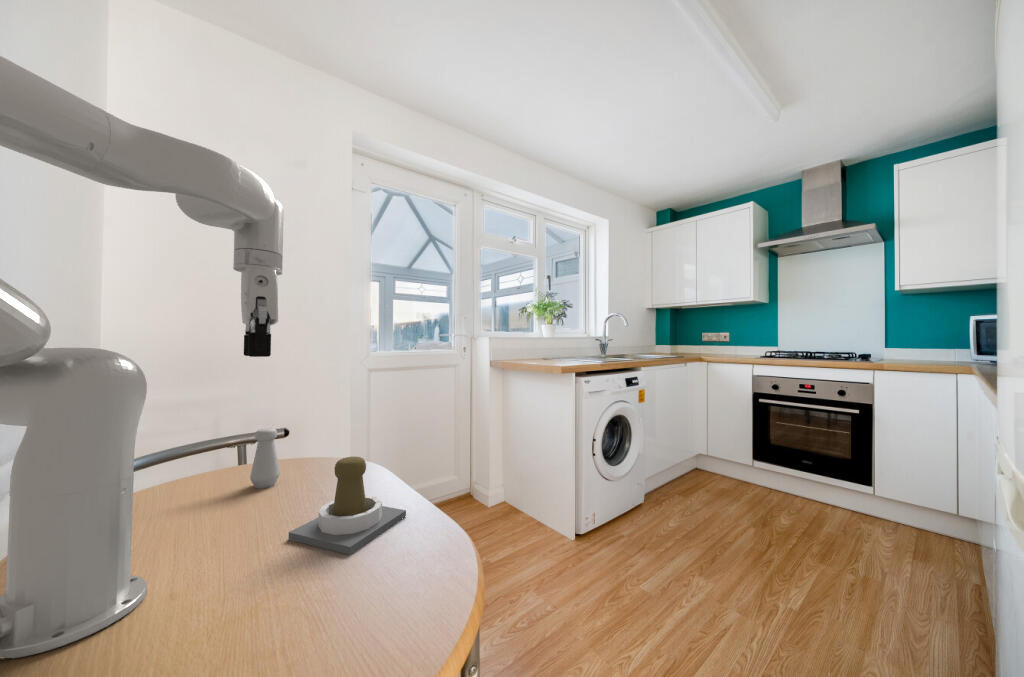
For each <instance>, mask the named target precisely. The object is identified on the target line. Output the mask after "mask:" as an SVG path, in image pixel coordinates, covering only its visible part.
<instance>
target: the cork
mask: <svg viewBox="0 0 1024 677" xmlns="http://www.w3.org/2000/svg"><path fill="white" fill-rule="evenodd" d="M366 471H367V463H366V460H365V459H364V458H363V457H361V456H347V457H343V458H340V459H339V460H338V461H336V463H335V465H334V476H335V477H336V479H337V481H336V489H335V495H334V500H333V501H334V506H333V513H332V516H337V517H342V516H353V515H357V514H361V513H364V512H366V511H367V508H366V500H365V495H366V493H365V486H364V477H363V476H364V474H365V473H366Z"/></svg>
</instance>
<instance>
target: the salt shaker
mask: <svg viewBox="0 0 1024 677" xmlns="http://www.w3.org/2000/svg"><path fill="white" fill-rule="evenodd" d="M277 436H278V430H277V429H276V428H274V427H273V428H272V427H266V428H265V427H264V428H259V429H258V430H256V431H255V434H254V438H255V441H257V444H256V449H255V452H254V453H255V454H254V459H253V464H252V467H251V471H250V477H249V479H250V480H249V481H250V482H251V483H252V484H253V487H254V488H255V489H267V488H271V487H274V485H275V484H276V483H277V480H278V479H279V477H280V474H281V471H280V470H281V469H280V464H279V459H278V454H277V449H276V444H275V439H276V438H277Z"/></svg>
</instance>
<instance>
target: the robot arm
mask: <svg viewBox="0 0 1024 677" xmlns="http://www.w3.org/2000/svg"><path fill="white" fill-rule="evenodd" d="M0 146H1V147H3V148H6V149H8V150H10V151H11V150H12V151H14V152H17V153H19V154H22V155H25V156H28V157H30V158H33V159H35V160H39V161H41V162H44V163H46V164H50V165H52V166H54V167H57V168H59V169H63V170H64V171H68V172H70V173H73V174H75V175H77V176H81V177H84V178H86V179H88V180H91V181H93V182H97V183H100V184H102V185H106V186H109V187H110V186H111V187H115V188H121V189H128V190H133V191H134V190H135V191H143V192H154V193H155V192H157V193H169V194H174V195H175V200H176V204H177V206H178V208H179V209H180V210H181V212H182V213H184V215H186V216H187V217H188V218H190V219H191V220H193V221H195V222H197V223H199V224H201V225H204V226H208V227H215V228H221V229H226V230H231V231H232V232H234V234H233V238H234V239H233V240H234V241H233V271H236V272H238V273H241V278H240V280H241V282H240V304H241V322H242V324H244V325H245V331H244V335H243V356H245V357H250V358H253V357H254V358H260V357H261V358H263V357H264V358H265V357H266V358H267V357H268V358H269V357H271V354H272V353H271V352H272V333H271V326H274V325H276V324H277V323H278V322H279V294H278V293H279V291H278V289H279V288H278V287H279V286H278V276H281V275H283V262H284V260H283V257H284V255H283V254H284V250H283V247H284V219H285V218H284V212H285V211H284V207H283V205H282V203H281V202H280V201H278V199H275V196H274V193H273V191H272V190H271V188H270V187H269V185H268V184H267V183H266V182H265V181H264V180H263V178H261V177H260V176H258V175H257V174H256V173H255V172H253V171H252V170H250V169H248V168H246V167H245V166H244V165H241V164H240V163H238V162H236V161H235V160H233V159H231V158H230V157H227V156H226V155H224V154H222V153H219V152H217V151H215V150H212V149H209V148H207V147H204V146H202V145H199V144H195V143H193V142H189V141H187V140H183V139H180V138H176V137H174V136H170V135H168V134H164V133H161V132H159V131H158V132H157V131H155V130H152V129H148V128H145V127H141V126H138V125H134V124H132V123H129V122H127V121H125V120H124V119H121V118H119V117H118V116H116V115H113V114H111V113H109V112H107V111H105V110H104V109H102V108H100V107H98V106H96V105H95V104H93V103H91V102H88V101H87V100H85V99H83V98H81V97H80V96H77V95H76V94H73V93H72V92H70V91H68V90H67V89H64V88H62V87H61V86H58V85H56V84H54V83H52V82H51V81H49V80H47V79H45V78H43V77H42V76H39V75H37V74H36V73H34V72H32V71H30V70H28V69H26V68H24V67H22V66H20V65H19V64H17V63H15V62H13V61H11V60H9V59H8V58H6V57H4V56H2V55H0ZM51 333H52V327H51V322H50V320H49V318H48V316H47V315H46V313H45V312H44V311H43V309H42V308H41V307H40V306H39V305H38V304H37V303H36V302H34V301H33V300H32V299H30V297H28V296H26V294H24V293H22V292H21V291H20V290H18V289H16V288H15V287H13V286H12V285H11V284H9V283H8V282H6V281H5V280H4V279H2V278H1V277H0V425H6V426H16V427H17V426H19V427H26V429H25V432H24V434H23V437H22V439H21V442H20V443H19V445H18V447H17V451H16V453H15V455H14V459H13V462H12V465H11V471H10V479H9V506H8V507H9V508H8V510H9V512H8V530H7V531H8V532H7V534H8V536H7V554H6V557H7V558H6V577H5V593H3V594H1V595H0V657H1V658H2V657H3V658H12V659H16V658H24V657H29V656H32V655H36V654H41V653H45V652H48V651H50V650H54V649H58V648H61V647H63V646H66V645H69V644H71V643H74V642H76V641H78V640H81V639H83V638H86V637H88V636H91V635H92V634H95V633H97V632H98V631H101V630H102V629H104V628H106V627H109V626H110V625H112V624H113V623H115V622H117V621H119V620H120V619H122V618H123V617H124V616H126V615H127V614H129V613H131V611H133V610H134V609H135V608H136V607H138V605H140V603H141V602H142V601H143V600H144V598H145V597H146V595H147V590H148V589H147V588H148V582H147V581H146V579H144V578H143V577H141V576H137V575H133V574H131V571H132V570H131V568H132V565H131V564H132V540H133V539H132V536H133V534H132V533H133V510H134V509H133V508H134V506H133V505H134V482H135V477H134V476H135V472H134V471H135V470H134V469H135V468H134V466H135V450H136V441H137V440H136V439H137V434H138V427H139V423H140V420H141V416H142V413H143V409H144V406H145V403H146V400H147V399H146V397H147V393H148V392H147V391H148V388H147V386H148V384H147V383H148V382H147V378H146V376H145V373H144V371H143V370H142V368H141V367H140V366H139V365H138V364H137V363H136V362H135V361H134V360H132V359H131V358H129V357H128V356H126V355H124V354H121V353H118V352H115V351H113V350H107V349H103V348H94V347H45V346H46V345H47V343H48V341H49V340H50V337H51Z"/></svg>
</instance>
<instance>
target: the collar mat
mask: <svg viewBox="0 0 1024 677" xmlns="http://www.w3.org/2000/svg"><path fill="white" fill-rule="evenodd" d="M365 500H366V508H367V511H366V512H364V513H361V514H357V515H353V516H342V517H337V516H332V513H333V506H334V500H330V502H327V503H325V504H324V505H323V506H322V507H320V509H319V510H318V516H317V517H316V518H314V519H313V520H310V521H308V522H306V523H304V524H302V525H301V526H298V527H295V528H294V529H292V530H290V531H288V540H289V541H292V542H297V543H300V544H304V545H309V546H311V547H312V546H313V547H317V548H320V549H325V550H328V551H333V552H335V553H337V552H338V553H341V554H345V555H352V554H353V553H355V552H357V551H358V550H360V549H361V548H362V547H364V546H366V545H367V544H368V543H370V542H371V541H373V540H374V539H376V538H377V537H378V536H380V535H382V534H383V533H384V532H385V531H388V530H389V529H390V528H391V526H392V527H393V526H395V525H396V524H397V522H398V521H399V522H400V521H402V520H403V519H405V518H406V517H407V510H406V509H401V508H396V507H392V506H391V507H390V506H384V505H383V501H382V500H381V499H380V498H379V497H377V496H373V495H368V494H367V495H366V494H365ZM405 516H406V517H405ZM404 517H405V518H404ZM402 518H403V519H402ZM401 519H402V520H401ZM399 522H398V523H399ZM394 524H395V525H394Z"/></svg>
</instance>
